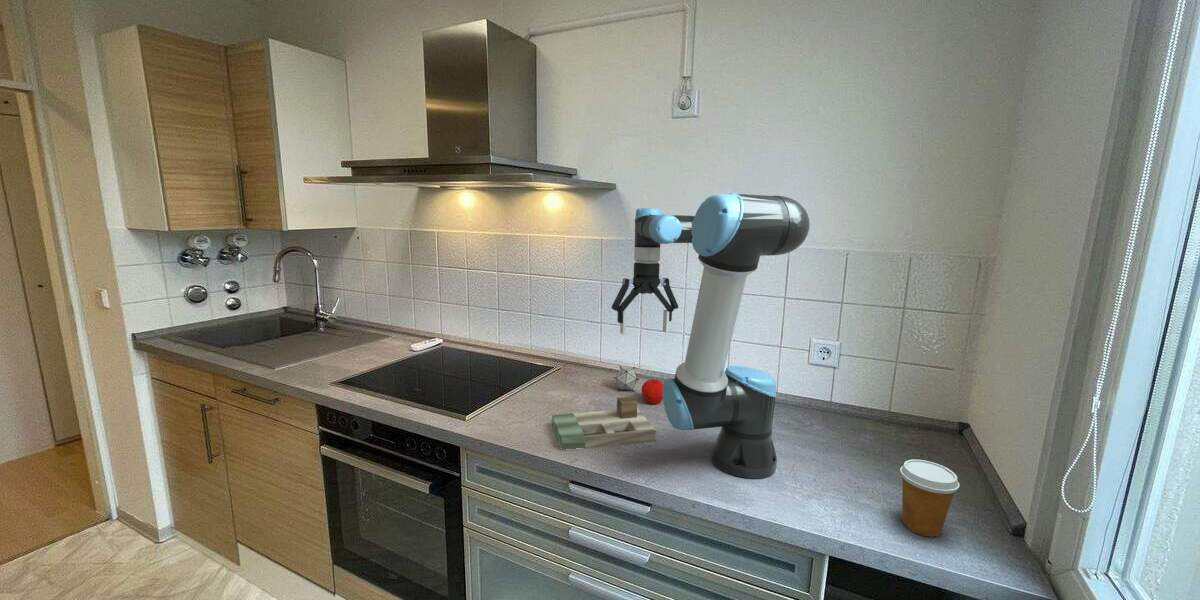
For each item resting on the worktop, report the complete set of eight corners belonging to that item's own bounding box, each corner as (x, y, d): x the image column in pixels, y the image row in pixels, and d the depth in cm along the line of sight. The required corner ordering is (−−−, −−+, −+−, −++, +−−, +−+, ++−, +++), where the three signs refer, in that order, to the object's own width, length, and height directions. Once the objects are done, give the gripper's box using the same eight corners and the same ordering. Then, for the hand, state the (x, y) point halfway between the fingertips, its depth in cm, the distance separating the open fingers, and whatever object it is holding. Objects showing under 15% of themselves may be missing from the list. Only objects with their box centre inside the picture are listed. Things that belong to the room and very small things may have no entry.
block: (636, 417, 136) (637, 402, 135) (621, 418, 135) (621, 403, 134) (631, 410, 140) (632, 396, 139) (616, 412, 139) (617, 397, 138)
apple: (637, 398, 158) (638, 376, 156) (660, 396, 159) (661, 375, 158) (644, 408, 150) (645, 385, 149) (669, 406, 152) (670, 383, 150)
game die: (627, 402, 163) (627, 386, 156) (608, 388, 168) (607, 371, 160) (644, 385, 168) (645, 368, 160) (625, 371, 172) (625, 354, 164)
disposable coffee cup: (955, 549, 90) (966, 489, 87) (895, 533, 94) (904, 476, 91) (944, 520, 98) (954, 465, 96) (890, 507, 102) (898, 454, 100)
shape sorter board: (655, 441, 129) (656, 430, 128) (562, 450, 122) (562, 439, 122) (636, 417, 143) (637, 407, 142) (551, 425, 136) (552, 415, 136)
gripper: (680, 260, 149) (677, 328, 153) (602, 260, 143) (600, 331, 146) (691, 262, 142) (688, 333, 146) (609, 263, 136) (607, 337, 139)
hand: (644, 332), depth 146 cm, fingers open, 13 cm apart
